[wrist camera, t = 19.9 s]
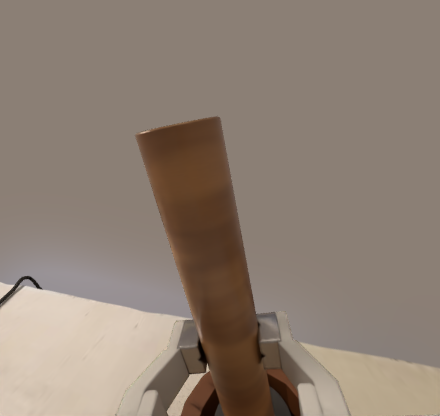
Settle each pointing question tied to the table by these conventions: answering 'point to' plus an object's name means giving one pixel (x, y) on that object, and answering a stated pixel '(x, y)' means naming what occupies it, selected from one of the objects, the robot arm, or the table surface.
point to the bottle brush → (211, 259)
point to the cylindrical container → (208, 399)
